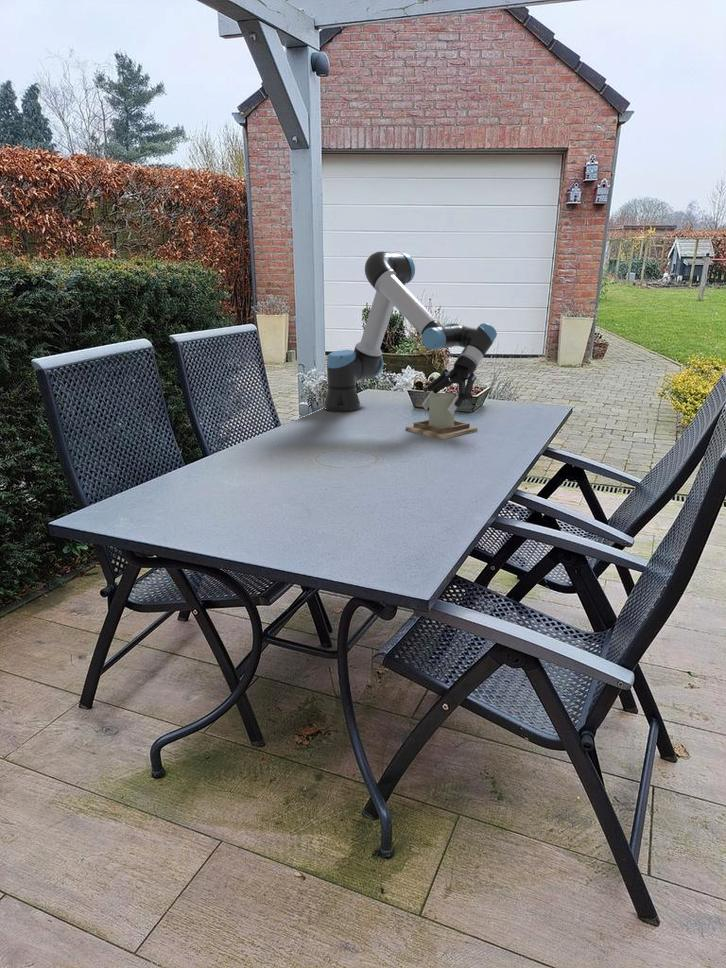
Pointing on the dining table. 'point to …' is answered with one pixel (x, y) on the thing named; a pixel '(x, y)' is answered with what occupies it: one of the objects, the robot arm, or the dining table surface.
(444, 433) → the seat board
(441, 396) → the can
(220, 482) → the dining table surface
